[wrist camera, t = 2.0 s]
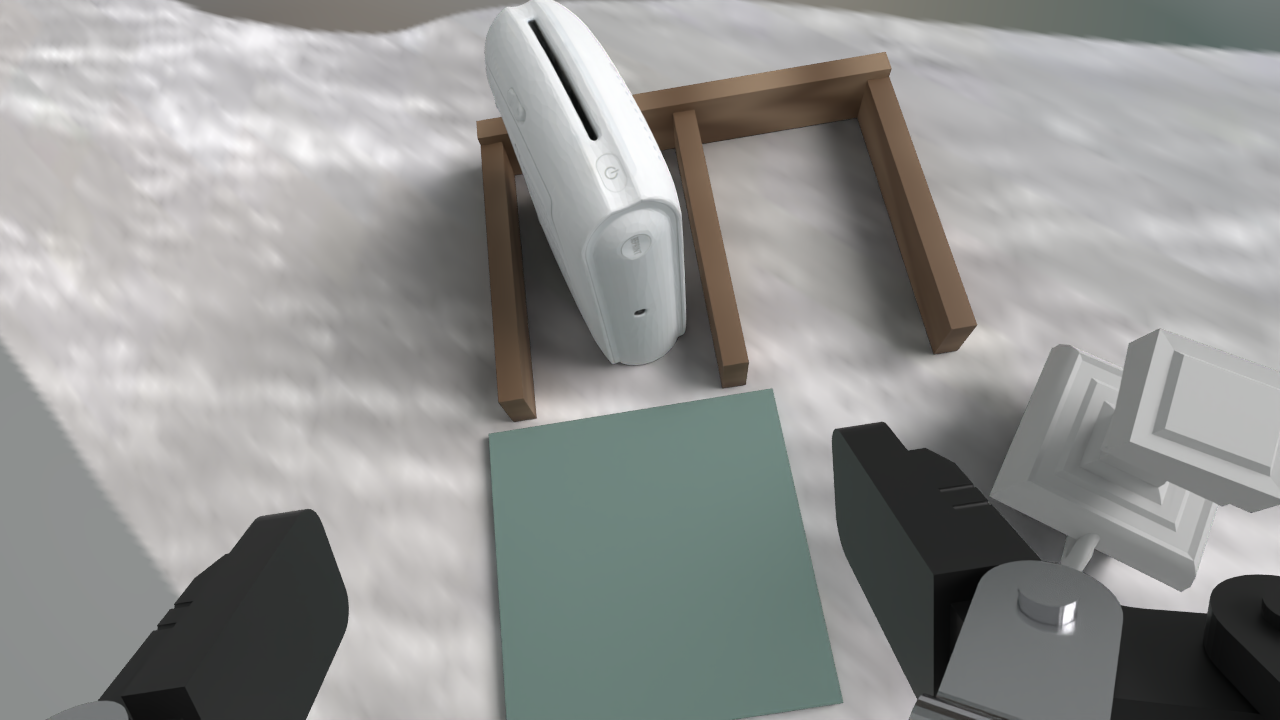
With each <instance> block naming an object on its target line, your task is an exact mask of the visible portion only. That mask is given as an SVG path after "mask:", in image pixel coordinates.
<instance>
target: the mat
mask: <svg viewBox="0 0 1280 720" xmlns="http://www.w3.org/2000/svg"><path fill="white" fill-rule="evenodd" d="M489 448H490V464H491V480H492V496H493V512H494V528H495V544H496V560H497V576H498V592H499V608H500V624H501V640H502V656H503V672H504V688H505V704H506V720H734V719H741V718H748V717H754V716H761V715H767V714H774V713H781V712H787V711H794V710H800V709H807V708H814V707H820V706H827V705H833V704H840V703H843V699H842V695H841V690H840V686H839V682H838V677H837V673H836V668H835V664H834V659H833V655H832V651H831V646H830V642H829V637H828V633H827V628H826V624H825V619H824V615H823V611H822V606H821V602H820V597H819V593H818V588H817V584H816V580H815V575H814V571H813V566H812V562H811V557H810V553H809V549H808V544H807V540H806V535H805V531H804V526H803V522H802V518H801V513H800V509H799V504H798V500H797V495H796V491H795V486H794V482H793V478H792V473H791V469H790V464H789V460H788V455H787V451H786V447H785V442H784V438H783V433H782V429H781V424H780V420H779V416H778V411H777V407H776V402H775V398H774V393H773V389H766V390H759V391H753V392H747V393H741V394H734V395H728V396H722V397H716V398H709V399H703V400H697V401H691V402H685V403H678V404H672V405H666V406H660V407H653V408H647V409H641V410H635V411H628V412H622V413H616V414H610V415H604V416H597V417H591V418H585V419H579V420H572V421H566V422H560V423H554V424H547V425H541V426H535V427H529V428H523V429H516V430H510V431H504V432H498V433H491V434H489Z"/></svg>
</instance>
